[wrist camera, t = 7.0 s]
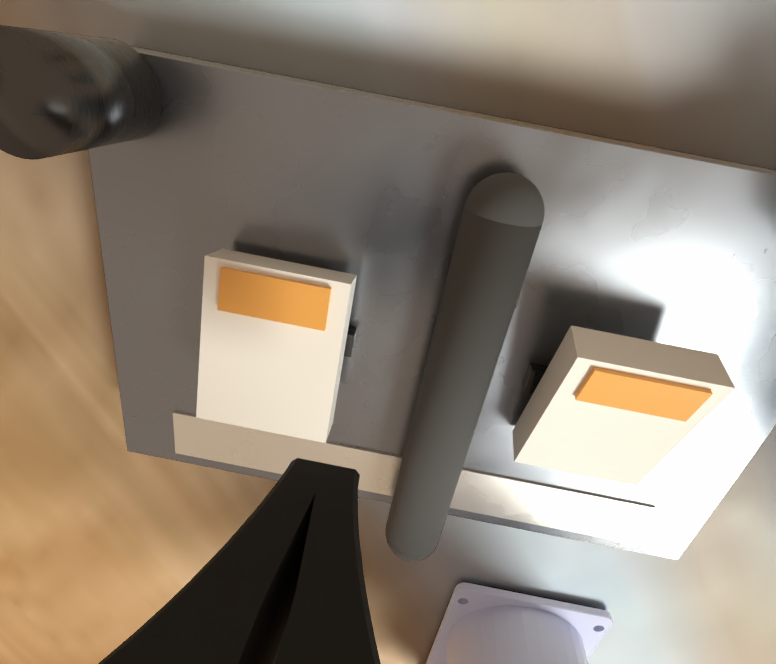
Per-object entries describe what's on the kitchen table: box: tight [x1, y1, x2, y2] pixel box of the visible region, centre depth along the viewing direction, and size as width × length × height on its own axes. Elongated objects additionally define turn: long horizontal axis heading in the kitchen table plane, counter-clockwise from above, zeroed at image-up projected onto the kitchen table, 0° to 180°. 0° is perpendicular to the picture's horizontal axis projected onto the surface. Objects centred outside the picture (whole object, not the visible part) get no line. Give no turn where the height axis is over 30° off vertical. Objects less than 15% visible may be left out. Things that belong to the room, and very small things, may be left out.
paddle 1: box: [196, 249, 357, 443], centre depth 14 cm, size 5×4×1 cm
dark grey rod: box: [386, 172, 545, 561], centre depth 15 cm, size 14×2×2 cm, turn 170°
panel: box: [0, 25, 776, 560], centre depth 15 cm, size 14×22×6 cm, turn 80°
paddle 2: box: [512, 325, 735, 486], centre depth 14 cm, size 5×4×1 cm
